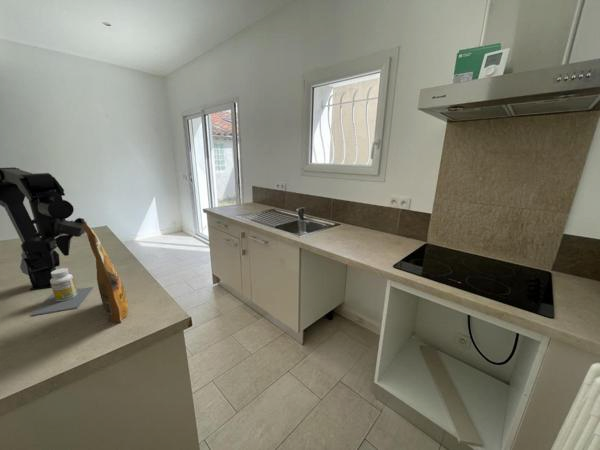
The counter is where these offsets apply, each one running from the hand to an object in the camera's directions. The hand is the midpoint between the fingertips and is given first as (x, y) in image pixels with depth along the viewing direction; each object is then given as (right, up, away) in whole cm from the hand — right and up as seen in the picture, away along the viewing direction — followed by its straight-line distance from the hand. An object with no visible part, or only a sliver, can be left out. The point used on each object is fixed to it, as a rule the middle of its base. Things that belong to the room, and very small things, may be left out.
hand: (59, 260), depth 79 cm
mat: (+1, -13, +1) cm, 13 cm away
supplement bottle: (+1, -13, +2) cm, 13 cm away
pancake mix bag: (+21, -15, -4) cm, 26 cm away
